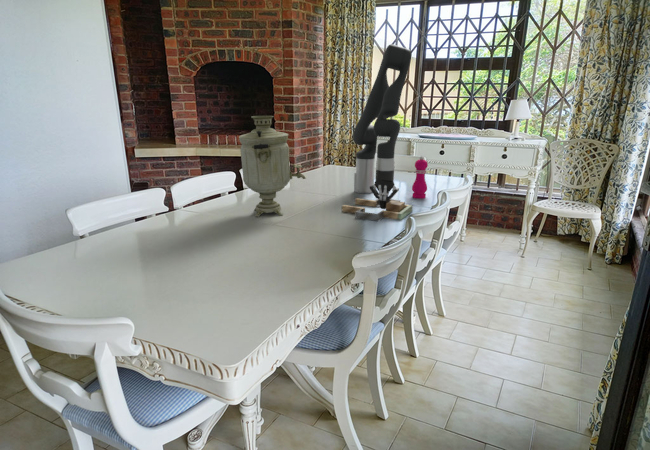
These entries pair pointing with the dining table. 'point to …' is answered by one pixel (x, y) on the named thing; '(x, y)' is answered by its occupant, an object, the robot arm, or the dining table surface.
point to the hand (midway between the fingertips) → (383, 208)
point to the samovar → (266, 163)
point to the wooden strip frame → (371, 216)
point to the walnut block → (395, 206)
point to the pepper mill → (420, 179)
